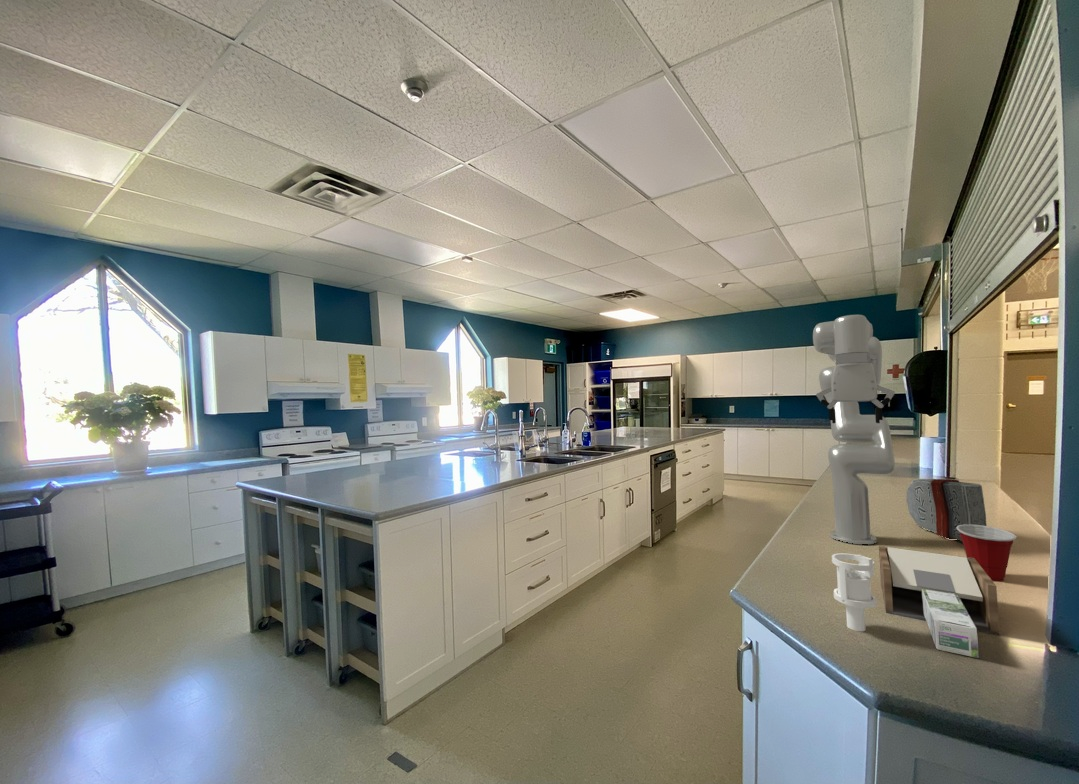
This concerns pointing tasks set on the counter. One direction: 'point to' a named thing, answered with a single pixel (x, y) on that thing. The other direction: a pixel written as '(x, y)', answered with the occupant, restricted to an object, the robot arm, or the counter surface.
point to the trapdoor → (933, 573)
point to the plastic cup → (988, 548)
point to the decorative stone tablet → (945, 505)
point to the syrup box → (950, 623)
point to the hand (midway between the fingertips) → (855, 423)
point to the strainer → (854, 588)
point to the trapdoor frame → (912, 602)
